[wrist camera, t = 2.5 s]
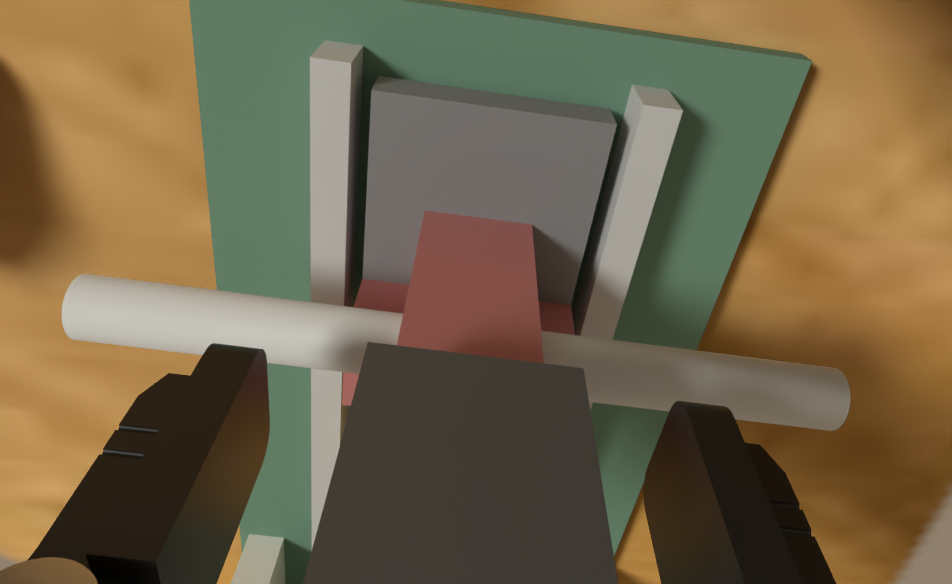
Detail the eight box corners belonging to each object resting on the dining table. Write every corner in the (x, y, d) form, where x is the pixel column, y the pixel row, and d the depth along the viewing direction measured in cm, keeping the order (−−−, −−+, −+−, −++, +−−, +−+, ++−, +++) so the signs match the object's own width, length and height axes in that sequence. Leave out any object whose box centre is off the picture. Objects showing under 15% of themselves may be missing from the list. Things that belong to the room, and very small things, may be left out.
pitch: (197, -36, 14) (156, -20, 12) (801, 54, 15) (840, 80, 13) (251, 584, 26) (234, 635, 24) (581, 619, 27) (586, 670, 25)
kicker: (163, 44, 14) (-491, 424, 5) (811, 137, 15) (1344, 627, 5) (194, 300, 18) (-147, 801, 8) (714, 365, 18) (936, 894, 9)
